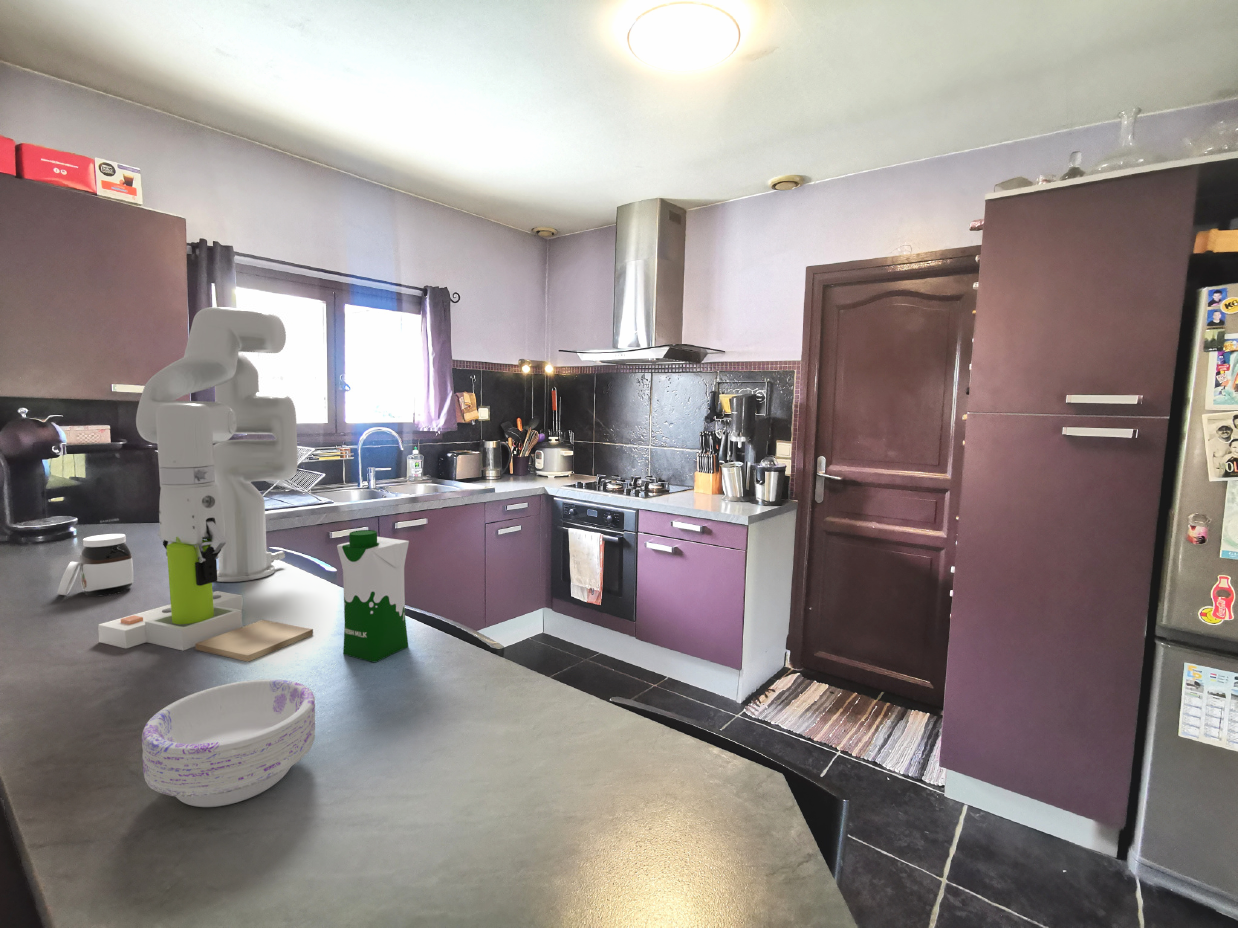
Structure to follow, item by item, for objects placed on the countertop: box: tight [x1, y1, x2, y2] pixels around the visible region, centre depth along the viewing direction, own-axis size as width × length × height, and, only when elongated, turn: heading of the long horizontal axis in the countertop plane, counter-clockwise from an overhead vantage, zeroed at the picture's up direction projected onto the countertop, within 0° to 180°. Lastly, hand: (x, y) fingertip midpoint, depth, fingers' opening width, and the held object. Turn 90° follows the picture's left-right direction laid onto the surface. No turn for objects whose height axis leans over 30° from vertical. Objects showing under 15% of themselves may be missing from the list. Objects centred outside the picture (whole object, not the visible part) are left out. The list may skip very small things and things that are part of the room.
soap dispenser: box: [166, 537, 214, 624], centre depth 101 cm, size 6×7×20 cm
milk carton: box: [336, 529, 410, 663], centre depth 96 cm, size 9×9×20 cm
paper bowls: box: [141, 678, 316, 808], centre depth 63 cm, size 15×15×8 cm
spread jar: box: [57, 533, 134, 597], centre depth 124 cm, size 12×11×12 cm
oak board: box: [194, 619, 314, 662], centre depth 99 cm, size 12×12×1 cm
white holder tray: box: [97, 590, 244, 652], centre depth 105 cm, size 20×16×4 cm
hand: (193, 579), depth 101 cm, fingers closed on soap dispenser, 5 cm apart
